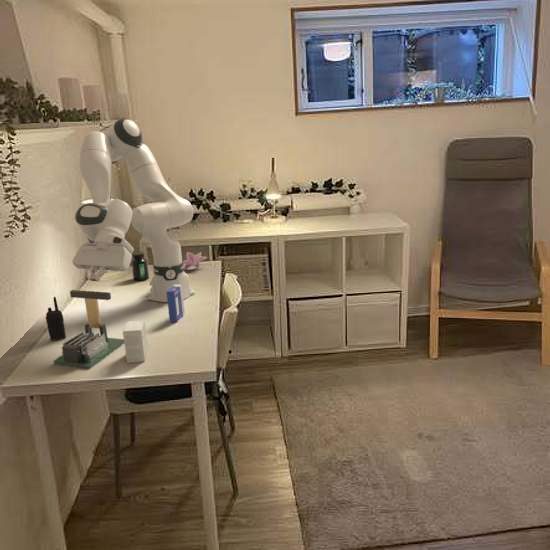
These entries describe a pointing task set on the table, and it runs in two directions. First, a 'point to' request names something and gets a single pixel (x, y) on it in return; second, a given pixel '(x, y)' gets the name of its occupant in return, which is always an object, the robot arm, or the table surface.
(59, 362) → the board
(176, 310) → the walkman
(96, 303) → the lever
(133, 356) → the small box
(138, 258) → the supplement bottle
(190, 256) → the lily
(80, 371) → the table surface
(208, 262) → the table surface
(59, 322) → the two-way radio
